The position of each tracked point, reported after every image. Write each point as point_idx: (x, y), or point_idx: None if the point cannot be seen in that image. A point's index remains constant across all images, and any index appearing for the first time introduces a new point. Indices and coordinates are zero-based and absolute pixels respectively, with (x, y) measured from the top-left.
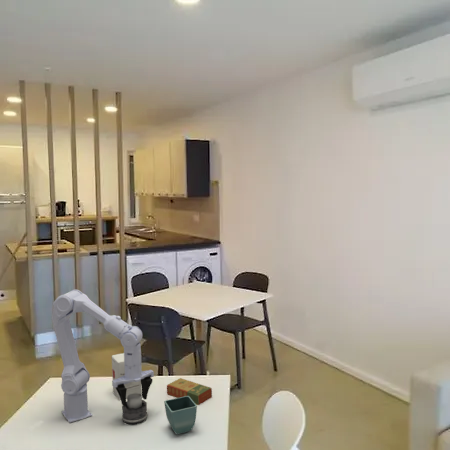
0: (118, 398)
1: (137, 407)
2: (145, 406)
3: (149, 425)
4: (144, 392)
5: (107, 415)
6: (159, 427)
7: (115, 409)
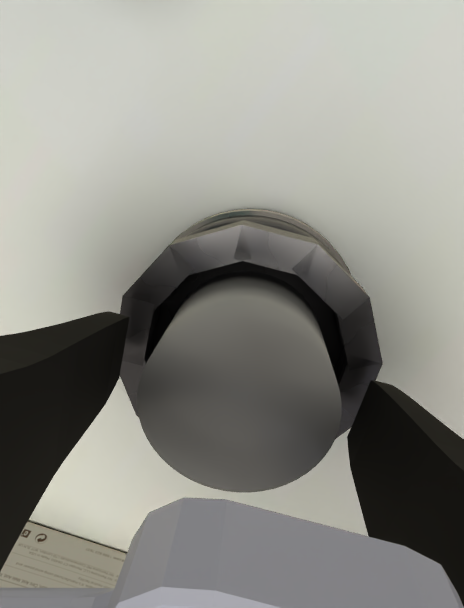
0: None
1: (269, 284)
2: (184, 241)
3: (247, 119)
4: (86, 368)
5: (336, 492)
6: (214, 4)
7: None
